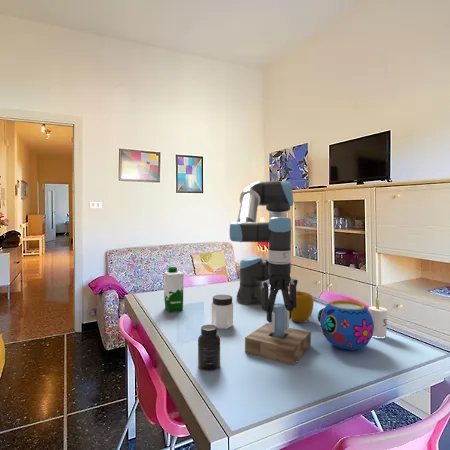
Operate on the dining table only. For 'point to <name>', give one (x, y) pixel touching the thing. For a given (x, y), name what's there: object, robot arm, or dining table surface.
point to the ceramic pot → (346, 324)
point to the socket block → (278, 344)
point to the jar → (222, 311)
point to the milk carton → (173, 289)
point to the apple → (302, 307)
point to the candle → (379, 319)
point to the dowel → (279, 321)
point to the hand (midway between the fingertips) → (278, 329)
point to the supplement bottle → (209, 348)
